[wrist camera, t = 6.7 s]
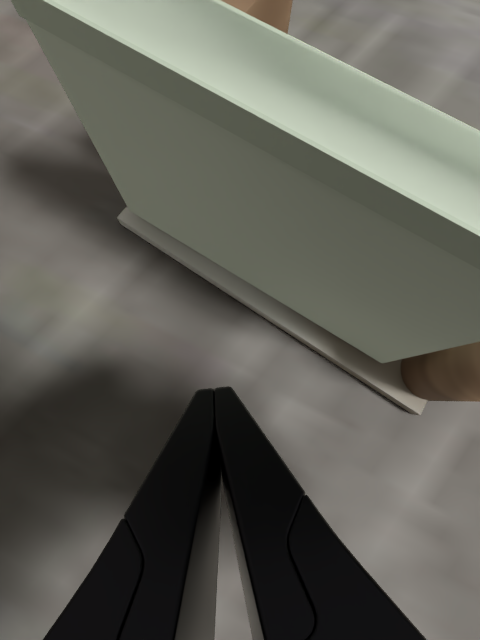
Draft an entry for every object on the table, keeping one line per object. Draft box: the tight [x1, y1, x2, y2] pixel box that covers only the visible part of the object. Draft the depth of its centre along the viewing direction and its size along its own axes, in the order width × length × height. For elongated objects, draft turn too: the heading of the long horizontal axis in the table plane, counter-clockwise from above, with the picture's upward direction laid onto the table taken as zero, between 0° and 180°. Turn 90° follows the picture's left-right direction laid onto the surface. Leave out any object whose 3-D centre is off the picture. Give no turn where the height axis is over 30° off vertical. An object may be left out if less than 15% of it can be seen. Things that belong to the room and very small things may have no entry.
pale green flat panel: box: [11, 0, 480, 363], centre depth 10 cm, size 13×2×8 cm, turn 58°
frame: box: [117, 0, 480, 415], centre depth 11 cm, size 6×17×9 cm, turn 56°
